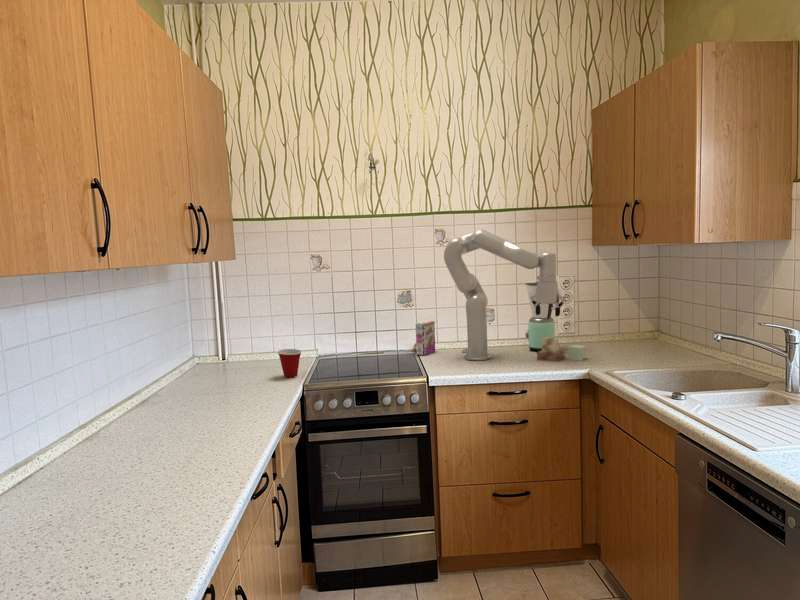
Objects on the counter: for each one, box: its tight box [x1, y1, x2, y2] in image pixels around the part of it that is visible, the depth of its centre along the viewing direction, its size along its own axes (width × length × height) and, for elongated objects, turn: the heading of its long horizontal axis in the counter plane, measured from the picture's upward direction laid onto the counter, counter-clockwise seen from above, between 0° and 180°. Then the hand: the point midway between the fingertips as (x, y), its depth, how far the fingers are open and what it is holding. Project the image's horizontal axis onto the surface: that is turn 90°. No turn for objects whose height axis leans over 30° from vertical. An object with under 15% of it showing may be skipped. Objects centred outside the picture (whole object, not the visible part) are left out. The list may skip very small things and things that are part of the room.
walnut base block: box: [536, 349, 566, 362], centre depth 282 cm, size 10×10×4 cm
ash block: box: [542, 337, 560, 353], centre depth 282 cm, size 6×6×6 cm
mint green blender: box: [525, 280, 562, 352], centre depth 301 cm, size 19×13×35 cm
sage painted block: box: [567, 344, 587, 362], centre depth 279 cm, size 6×6×6 cm
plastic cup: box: [277, 348, 303, 378], centre depth 269 cm, size 11×11×12 cm
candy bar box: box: [415, 320, 436, 356], centre depth 307 cm, size 11×5×16 cm, turn 144°
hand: (547, 315), depth 280 cm, fingers open, 9 cm apart
